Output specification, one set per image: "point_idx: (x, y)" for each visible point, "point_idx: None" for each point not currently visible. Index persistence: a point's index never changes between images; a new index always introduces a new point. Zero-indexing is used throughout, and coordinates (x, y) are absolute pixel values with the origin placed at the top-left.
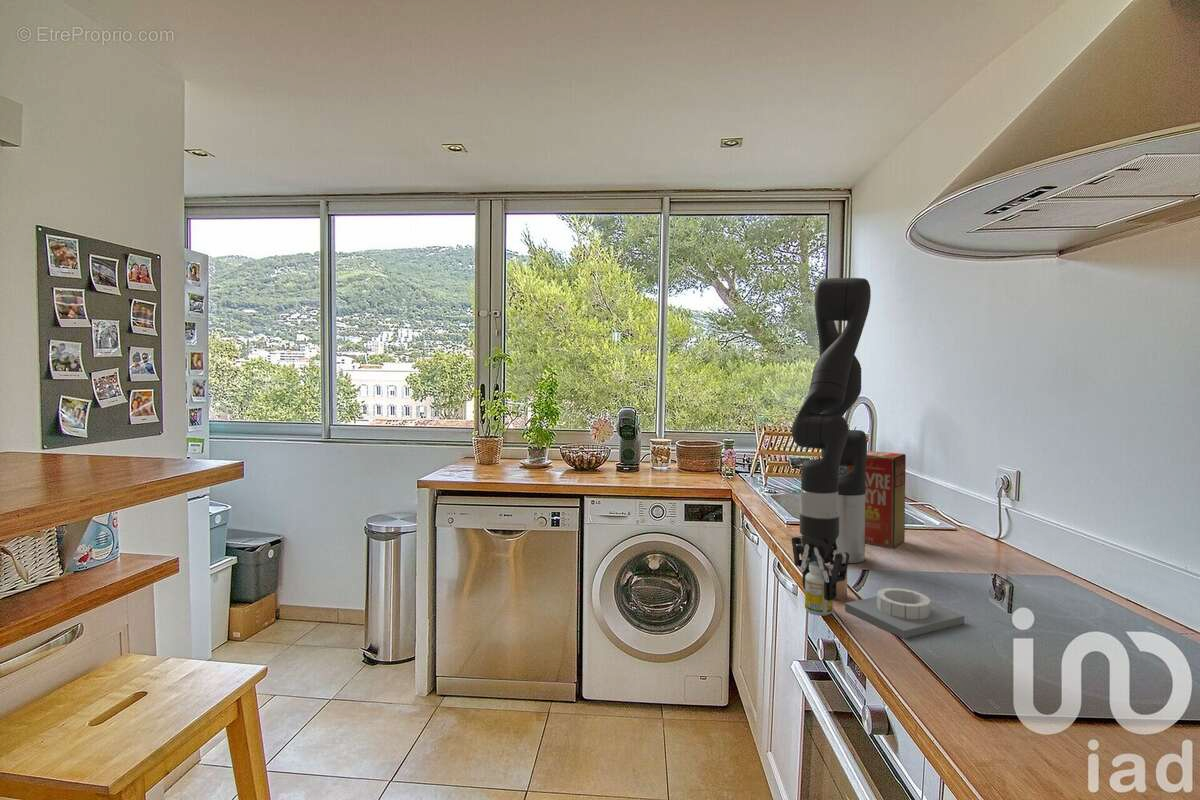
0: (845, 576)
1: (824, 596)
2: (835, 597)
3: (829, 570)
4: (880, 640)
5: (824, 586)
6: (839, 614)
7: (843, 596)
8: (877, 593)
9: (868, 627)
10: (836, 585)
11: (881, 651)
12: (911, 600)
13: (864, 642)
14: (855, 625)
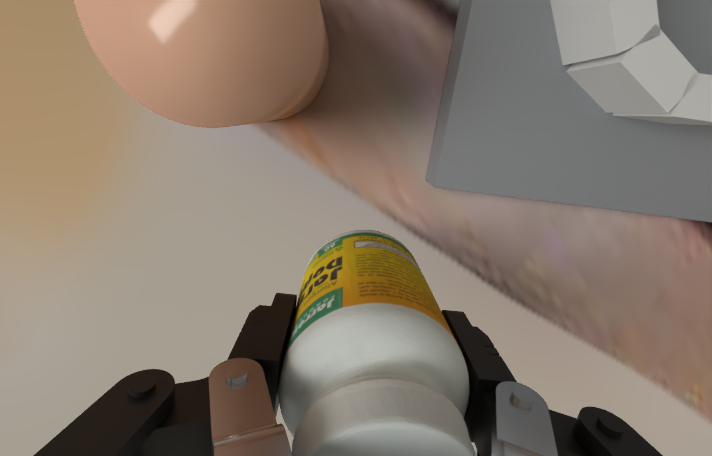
0: (649, 448)
1: None
2: (476, 327)
3: (466, 432)
4: (663, 297)
5: None
6: (436, 236)
7: (328, 57)
8: (620, 51)
9: (584, 242)
10: (514, 378)
11: (693, 358)
12: None
13: (626, 351)
14: (539, 269)
